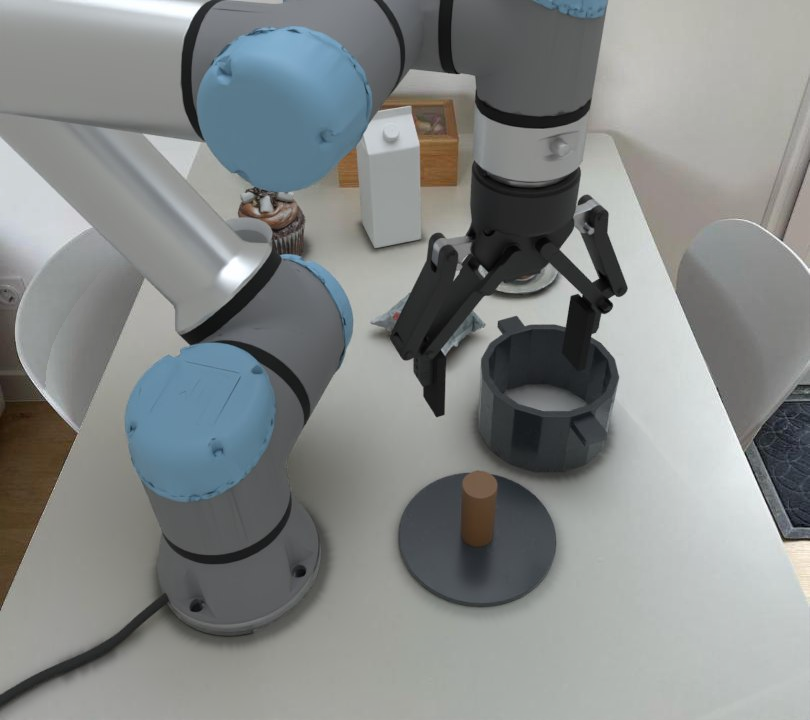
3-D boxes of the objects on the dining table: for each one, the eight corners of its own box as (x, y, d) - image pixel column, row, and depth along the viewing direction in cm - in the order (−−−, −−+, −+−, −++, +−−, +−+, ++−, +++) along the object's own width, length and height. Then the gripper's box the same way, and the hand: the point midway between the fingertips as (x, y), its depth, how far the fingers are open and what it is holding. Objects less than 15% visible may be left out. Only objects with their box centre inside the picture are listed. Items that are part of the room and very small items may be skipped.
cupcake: (228, 259, 115) (215, 197, 109) (269, 225, 122) (259, 165, 115) (282, 277, 112) (273, 215, 105) (322, 242, 118) (315, 181, 111)
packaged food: (442, 374, 97) (443, 343, 93) (369, 333, 103) (368, 302, 99) (486, 338, 102) (488, 307, 98) (414, 301, 107) (414, 270, 104)
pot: (525, 511, 82) (532, 452, 76) (449, 387, 95) (450, 328, 89) (644, 470, 85) (660, 411, 79) (554, 356, 99) (562, 298, 93)
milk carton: (361, 223, 121) (352, 103, 108) (406, 215, 123) (403, 94, 110) (374, 249, 116) (366, 126, 103) (421, 240, 118) (419, 117, 105)
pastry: (515, 311, 105) (517, 282, 102) (451, 271, 112) (452, 243, 109) (575, 273, 111) (579, 245, 108) (511, 237, 118) (513, 210, 114)
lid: (434, 633, 72) (434, 579, 66) (377, 505, 83) (373, 449, 77) (584, 578, 76) (596, 522, 70) (511, 462, 86) (517, 405, 81)
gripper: (377, 231, 50) (388, 457, 64) (710, 149, 57) (651, 369, 71) (337, 174, 55) (355, 395, 69) (646, 105, 62) (604, 319, 76)
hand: (505, 383), depth 70 cm, fingers open, 13 cm apart
